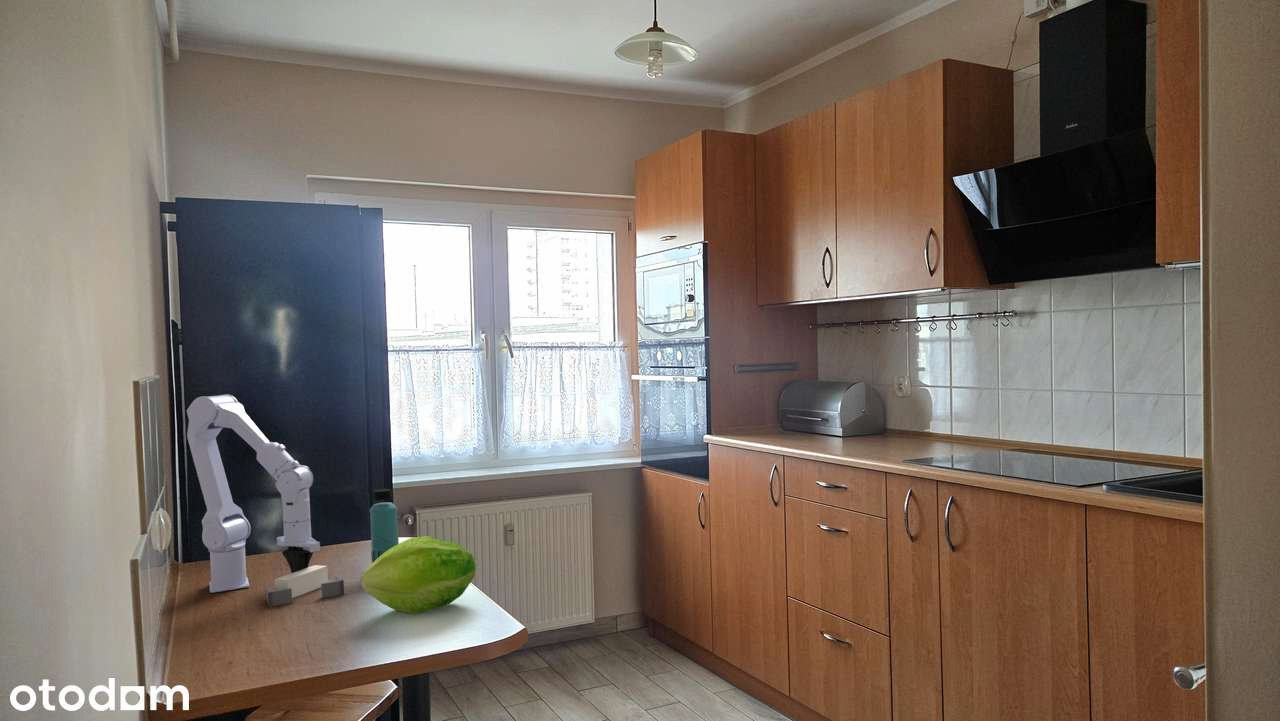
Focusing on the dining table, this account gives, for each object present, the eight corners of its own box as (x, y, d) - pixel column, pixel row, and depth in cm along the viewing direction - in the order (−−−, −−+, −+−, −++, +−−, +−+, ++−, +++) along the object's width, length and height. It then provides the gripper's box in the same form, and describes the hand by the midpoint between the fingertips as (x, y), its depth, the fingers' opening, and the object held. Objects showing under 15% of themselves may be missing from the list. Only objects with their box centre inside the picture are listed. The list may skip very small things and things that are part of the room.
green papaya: (374, 627, 154) (356, 617, 167) (490, 603, 165) (465, 596, 179) (368, 547, 155) (351, 544, 169) (484, 529, 167) (459, 528, 180)
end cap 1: (266, 600, 179) (265, 586, 179) (289, 596, 181) (288, 582, 181) (268, 606, 174) (268, 592, 173) (292, 603, 176) (291, 588, 176)
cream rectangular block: (275, 599, 180) (274, 579, 180) (316, 584, 191) (315, 565, 191) (288, 601, 178) (287, 580, 178) (328, 585, 189) (327, 565, 189)
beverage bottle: (404, 569, 200) (401, 486, 200) (394, 577, 193) (390, 491, 193) (378, 569, 201) (375, 487, 201) (367, 577, 194) (363, 492, 194)
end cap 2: (318, 591, 184) (317, 578, 184) (339, 588, 186) (339, 574, 186) (322, 597, 179) (321, 584, 179) (344, 594, 181) (343, 580, 181)
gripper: (263, 520, 190) (266, 580, 190) (298, 526, 181) (301, 588, 181) (292, 515, 195) (294, 572, 196) (327, 520, 187) (330, 580, 187)
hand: (299, 580), depth 189 cm, fingers closed
